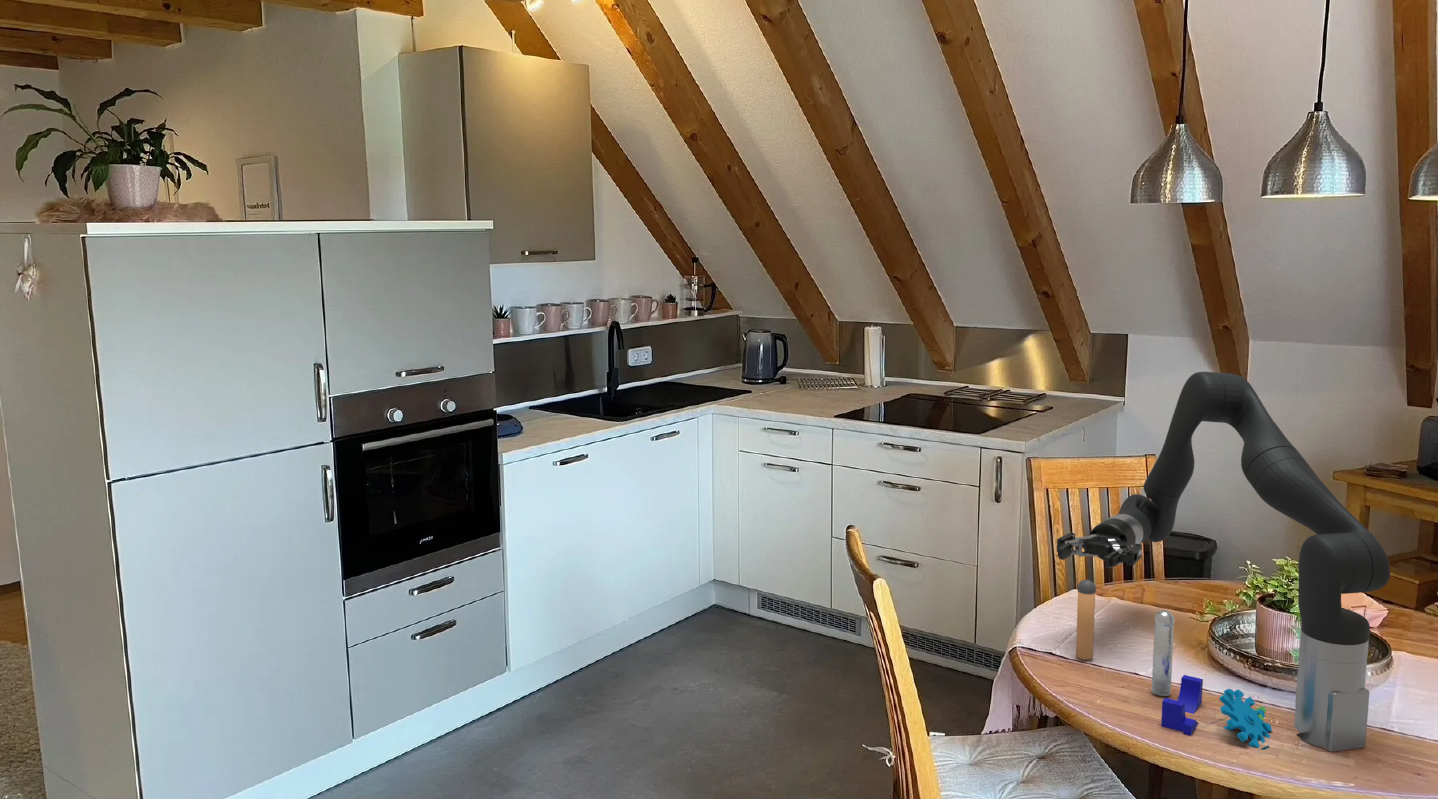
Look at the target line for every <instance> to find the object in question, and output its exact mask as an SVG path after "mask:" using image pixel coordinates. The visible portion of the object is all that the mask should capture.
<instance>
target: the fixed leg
mask: <svg viewBox="0 0 1438 799" xmlns="http://www.w3.org/2000/svg"><path fill="white" fill-rule="evenodd" d="M1153 619H1154V620H1153V621H1154V631H1153V632H1154V634H1153V635H1154V636H1153V649H1152V650H1153V651H1152V652H1153V654H1152V672H1151V673H1152V674H1151V693H1152V694H1154V695H1155V696H1159V697H1167V696H1170V695H1171V692H1172V674H1173V653H1174V652H1173V651H1174V650H1173V649H1174V633H1175V631H1174V629H1175V623H1176V620H1175V616H1174V614H1173V613H1172V612H1170V611H1168V610H1164V609H1163V610H1159V611H1157V612H1156V614H1155V615H1154V618H1153Z"/></svg>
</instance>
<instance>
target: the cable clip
mask: <svg viewBox="0 0 1438 799" xmlns="http://www.w3.org/2000/svg"><path fill="white" fill-rule="evenodd" d="M1203 683H1204V679H1203V678H1201V677H1200V678H1199V677H1196V676H1192V675H1191V676H1190V675H1186V674H1183V675H1182V676H1181V680H1180V688H1179V694H1178V698H1177V700H1175V699H1173V698H1168V697H1165V698H1164V699H1163V700H1162V701H1161V702H1162V703H1161V704H1162V705H1161V720H1160V721H1161V724H1160V726H1161V727H1162V728H1167V729H1171V730H1173V731H1174V730H1175V731H1178V732H1182V733H1181V734H1183V735H1185V736H1189V737H1191V736H1192V735H1193V732H1195V731H1196V729H1197V727H1198V725H1199V724H1200V722H1198V721H1197V719H1193V718H1190V717H1186V716H1187V715H1186V713H1189V714H1193V715H1195V713H1196V712H1197V710H1198V709H1199V708H1200V706H1201V705H1202V703H1203V686H1204V685H1203Z"/></svg>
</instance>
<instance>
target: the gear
mask: <svg viewBox="0 0 1438 799" xmlns="http://www.w3.org/2000/svg"><path fill="white" fill-rule="evenodd" d="M1244 694H1245V693H1244V692H1243V691H1242V690H1240V689H1235V690H1233V689H1231V688H1227V689H1225V690H1224V691H1223V694H1222V695H1221V696H1219V701H1220V702H1221V703H1222V704H1223V705H1221V706H1220V712H1221V713H1222V714H1223V715H1224V716H1225V715H1226V716H1227V717H1229V718H1230V719H1228V720H1226V724H1227V725H1225V726H1224V727H1223V729H1224V730H1227V731H1231V732H1232V731H1234V730H1236V729H1239V730H1240V732H1238V733H1237V734H1236V736H1237V738H1238V739H1239V741H1240V742H1242V743H1244V742H1245V741H1247V740H1248V739H1249V738H1250V739H1251V741H1249V742H1248V745H1249V747H1251V748H1259V749H1260V750H1263V751H1264V750H1267V749H1269V748H1270V745H1267V746H1264V747H1261V748H1260V746H1261V745H1260V743H1259V741H1261V743H1262V744H1265V743H1266V739H1270V737H1272V735H1271V734H1270V732H1272V729H1273V728H1272V725H1271V724H1270V723H1268V722H1265V721H1264V720H1265V717H1266V714H1265V713H1267V709H1266V707H1264V706H1263V705H1261V706H1259V707H1257V708H1256V709H1254V708H1252V707H1253V706H1254V705H1256V702H1255V700H1254V699H1253V698H1252V697H1251V696H1249V697H1246V698H1245V699H1244V701H1243V700H1242V698H1244V696H1245V695H1244ZM1264 737H1265V738H1266V739H1265V738H1264Z"/></svg>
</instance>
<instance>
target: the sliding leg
mask: <svg viewBox="0 0 1438 799" xmlns="http://www.w3.org/2000/svg"><path fill="white" fill-rule="evenodd" d="M1096 591H1097V586H1096V584H1095V583H1094V582H1093V581H1092V580H1091V579H1083V580H1080V582H1078V585H1077V609H1076V611H1077V612H1076V613H1077V614H1076V637H1075V638H1076V640H1075V641H1076V642H1075V646H1076V647H1075V656H1076V657H1077V658H1079V659H1081V660H1084V661H1087V660H1091V659H1093V658H1094V645H1095V644H1094V640H1095V639H1094V638H1095V637H1094V636H1095V611H1096V609H1095V608H1096Z"/></svg>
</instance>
